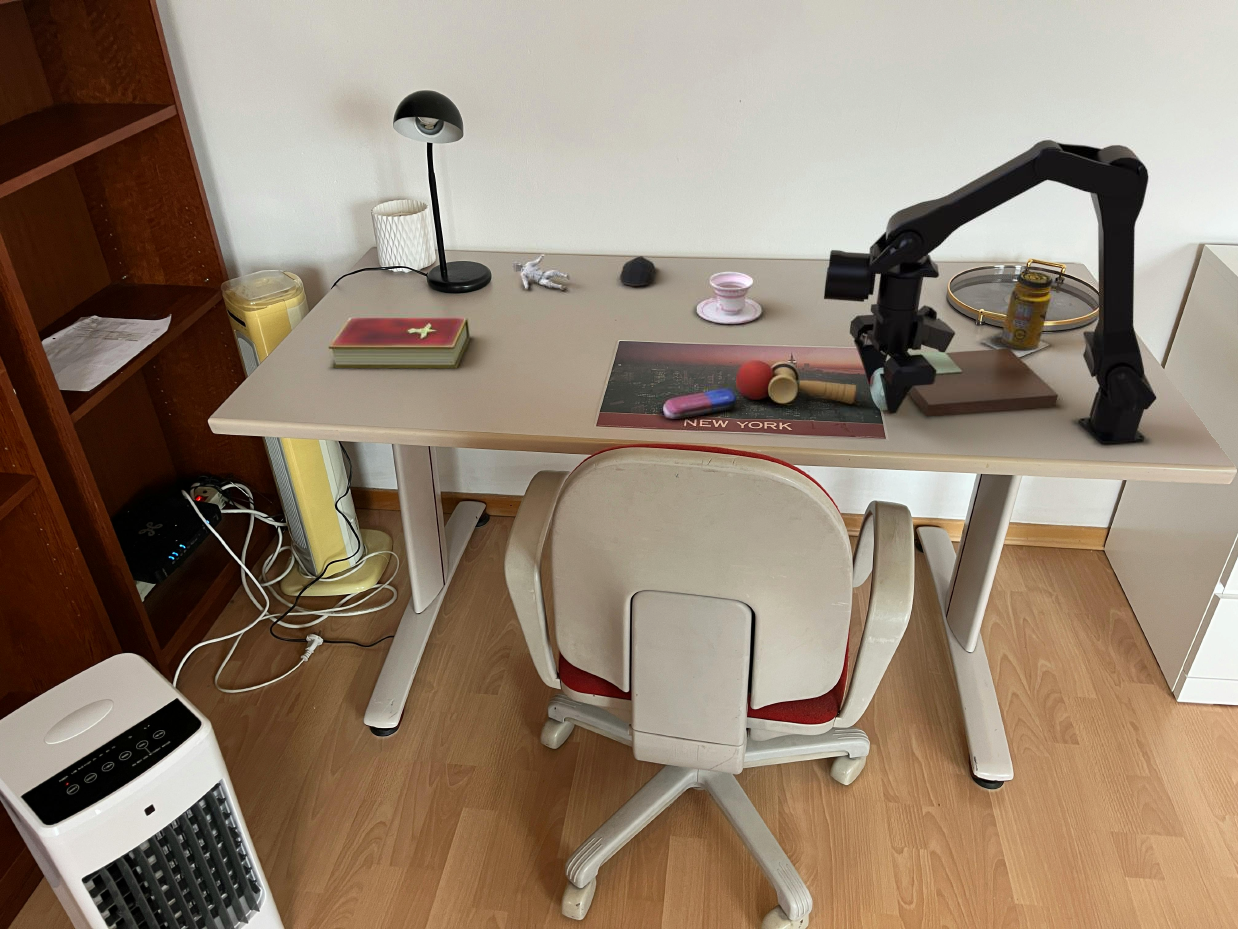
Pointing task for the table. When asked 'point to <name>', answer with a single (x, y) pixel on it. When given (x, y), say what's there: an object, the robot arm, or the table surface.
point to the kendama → (786, 383)
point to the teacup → (729, 300)
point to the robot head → (878, 390)
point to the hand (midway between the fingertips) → (882, 400)
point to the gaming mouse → (637, 272)
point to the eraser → (699, 404)
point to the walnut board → (981, 384)
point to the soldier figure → (538, 274)
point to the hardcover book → (400, 343)
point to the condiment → (1025, 315)
